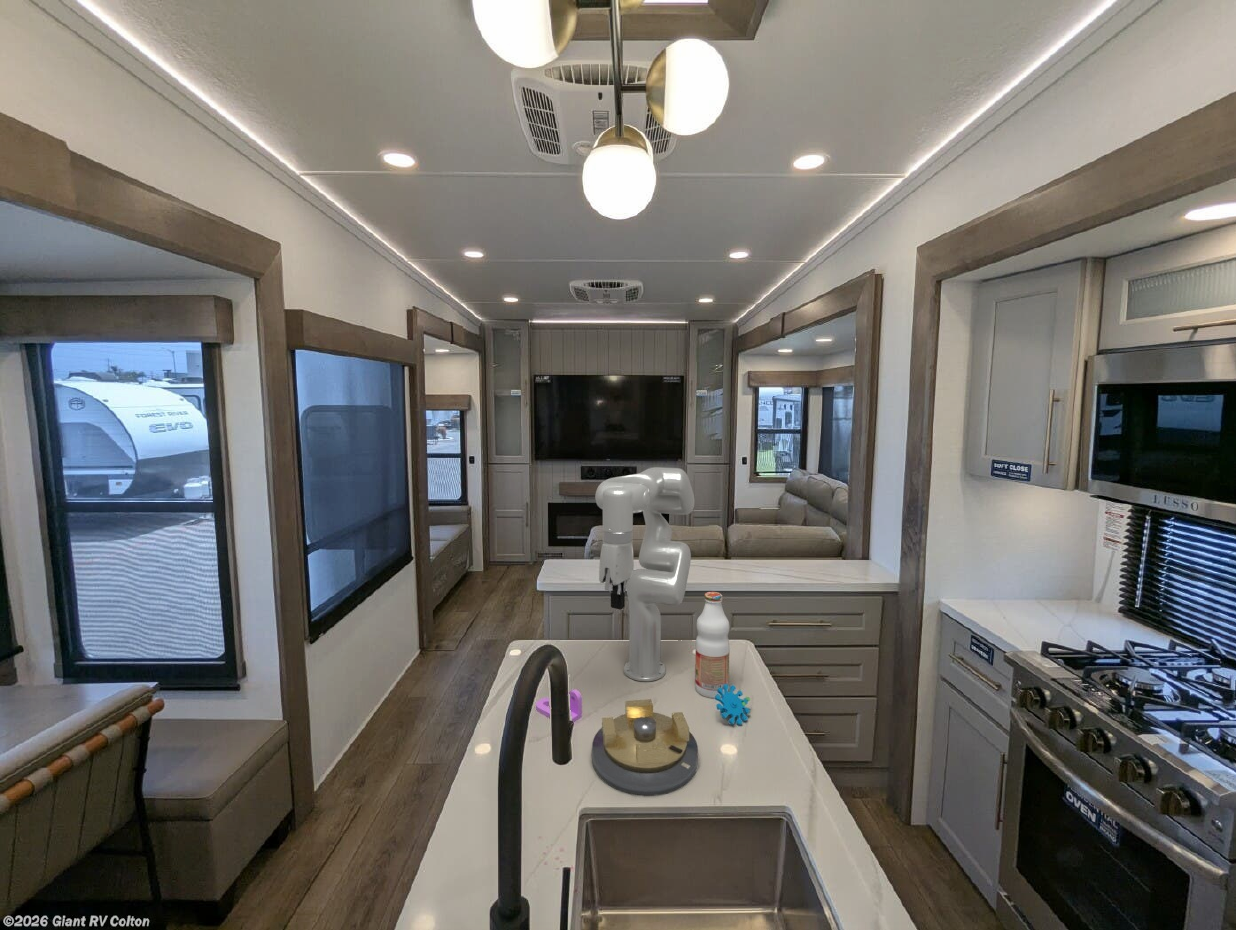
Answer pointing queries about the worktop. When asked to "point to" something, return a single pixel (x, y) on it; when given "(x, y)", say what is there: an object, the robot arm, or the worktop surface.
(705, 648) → the fruit juice
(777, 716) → the worktop surface
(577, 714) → the bracket
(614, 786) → the cap flange
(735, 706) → the gear
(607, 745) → the four-jaw chuck
